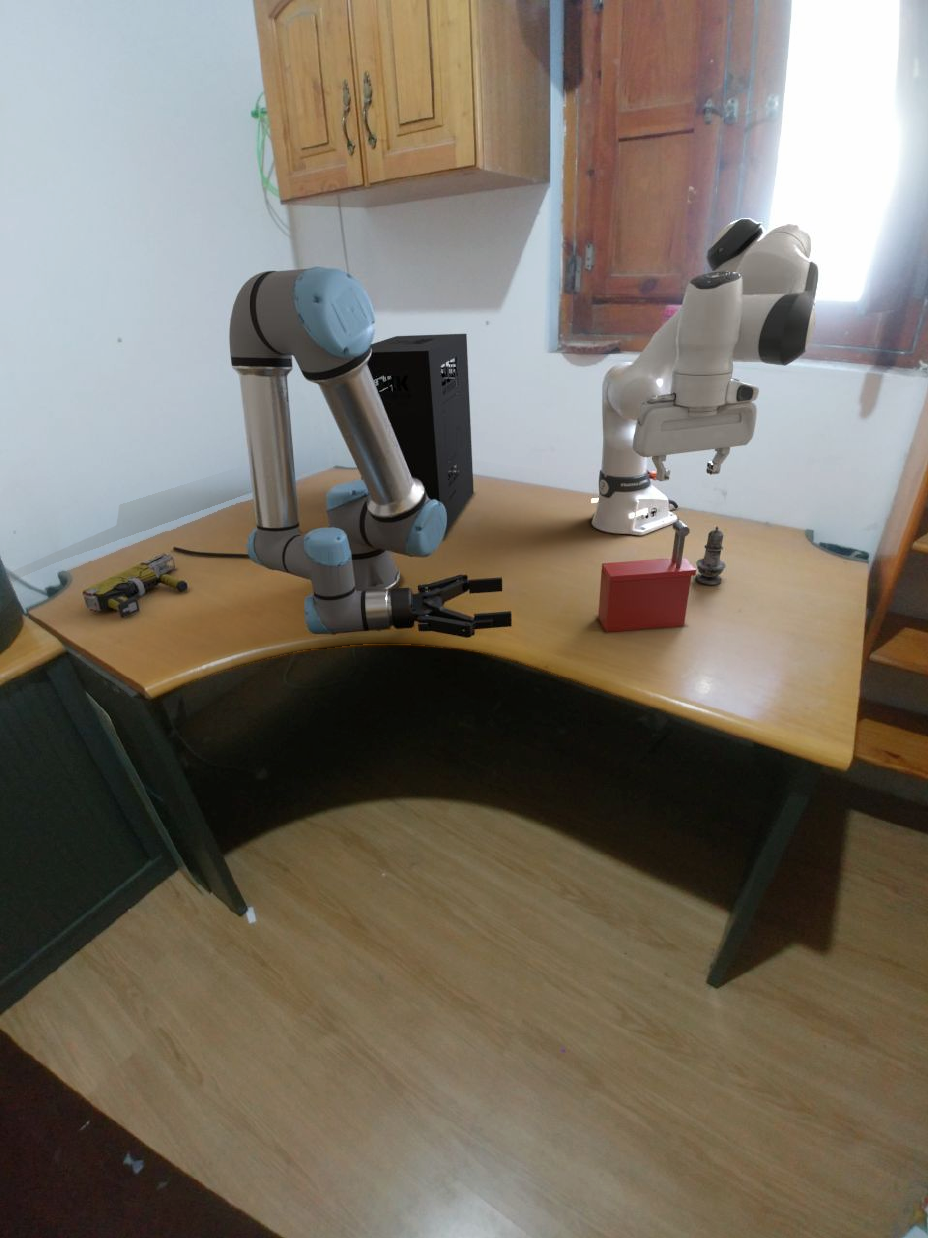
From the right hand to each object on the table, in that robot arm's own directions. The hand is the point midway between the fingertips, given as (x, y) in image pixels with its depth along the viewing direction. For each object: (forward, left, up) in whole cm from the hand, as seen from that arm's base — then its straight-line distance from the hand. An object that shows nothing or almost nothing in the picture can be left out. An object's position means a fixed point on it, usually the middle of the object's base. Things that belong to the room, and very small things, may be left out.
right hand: (687, 476), depth 102 cm
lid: (+5, -2, -18) cm, 18 cm away
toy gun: (+92, -66, -28) cm, 116 cm away
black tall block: (+19, -81, -28) cm, 87 cm away
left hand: (+29, -11, -21) cm, 38 cm away
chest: (+5, -2, -28) cm, 29 cm away
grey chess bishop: (-18, -9, -28) cm, 35 cm away
